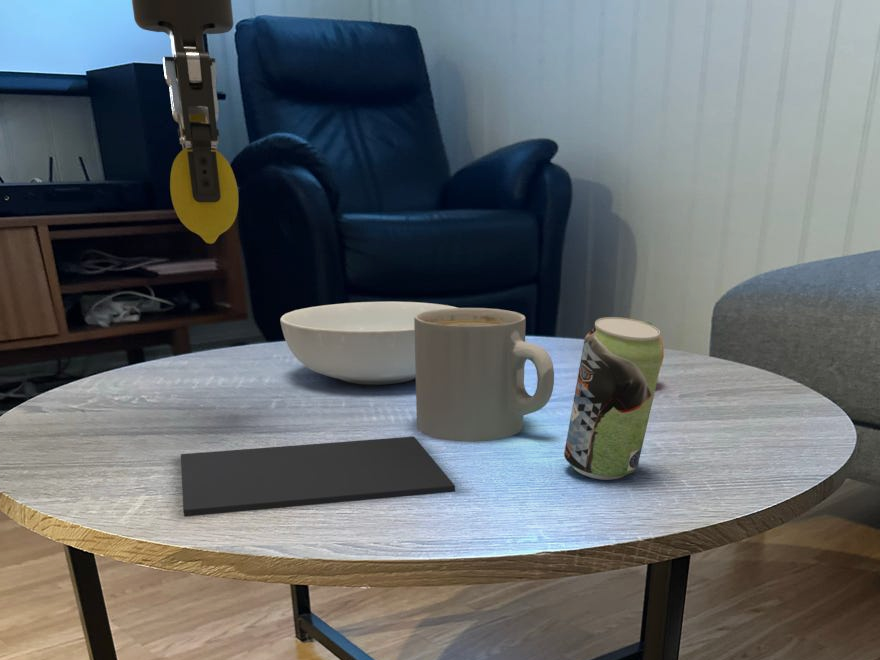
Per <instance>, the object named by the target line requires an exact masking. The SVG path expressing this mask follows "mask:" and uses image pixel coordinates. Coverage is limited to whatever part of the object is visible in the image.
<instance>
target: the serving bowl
mask: <svg viewBox="0 0 880 660" xmlns="http://www.w3.org/2000/svg"><path fill="white" fill-rule="evenodd" d="M449 308H458V307H456V306H452V305H448V304H441V303H440V304H439V303H431V302H430V303H429V302H417V301H361V302H359V301H358V302H344V303H334V304H324V305H317V306H310V307H306V308H305V307H304V308H300V309H295V310H292V311H289V312H286V313H284V314H283V315H281V317H280V320H279V321H280V326H281V330H282V334H283V337H284V340H285V343H286V345H287V347H288V349H289V350H290V352H291V353H292V355H293V356H294V357H295V358H296V359H297V360H298V361H299V362H300V363H301V364H302V365H303V366H305V367H306V368H307V369H309V370H311V371H313V372H316V373H317V374H320V375H322V376H326V377H329V378H334V379H338V380H340V381H343V382H345V383H346V382H347V383H351V384H356V385H367V386H368V385H373V386H374V385H378V386H379V385H381V386H382V385H394V384H401V383H406V382H409V381H413V380H414V379H415V380H416V370H415V330H414V317H415V316H416V315H417V314H419V313H421V312H425V311H430V310H438V309H449Z"/></svg>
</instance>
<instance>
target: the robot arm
mask: <svg viewBox="0 0 880 660" xmlns="http://www.w3.org/2000/svg"><path fill="white" fill-rule="evenodd" d="M131 4H132V5H131V6H132V14H133V19H134V20H133V21H134V23H135V24H136V26H137V27H139V28H140V29H142V30H144V31H148V32H155V33H165V34H166V35H167V36H168V37H169V39H170V44H171V45H170V47H171V53H172V56H163V58H162V63H163V72H164V79H165V82H166V85H167V86H168V87H169V97H170V104H171V111H172V117H173V120H174V121H175V122H176V123H178V128H177V134H178V137H179V144H180V145H181V146H182V150H183V149H185V148H186V150H192V151H187V154H188V163H189V171H190V179H191V187H192V195H193V198H194V200H195V201H197V202H218V201H219V200H220V197H221V195H220V186H219V177H218V167H217V158H216V152H211V150H217V151H218V146H219V138H218V137H219V136H220V131H219V128H217V126H218V125H217V122H218V120H219V114H220V108H219V101H218V92H217V83H218V69H217V68H218V67H217V61H216V58H215V57H214V58H213V57H210V52H208V51H206V49H205V42H204V35H219V34H226V33H229V32H230V31H231V30H232V29H233V27H234V16H233V6H232V0H131Z"/></svg>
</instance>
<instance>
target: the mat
mask: <svg viewBox="0 0 880 660" xmlns="http://www.w3.org/2000/svg"><path fill="white" fill-rule="evenodd" d="M180 465H181V466H180V468H181V487H182V488H181V489H182V509H183V510H182V511H183V516H184V517H195V516H205V515H207V516H208V515H215V514H228V513H238V512H247V511H260V510H268V509H281V508H291V507H293V508H294V507H305V506H315V505H325V504H336V503H347V502H358V501H367V500H379V499H391V498H400V497H411V496H421V495H423V496H424V495H434V494H444V493H454V492H456V485H455V484H454V483H453V482H452V480H451V479H450V477H448V476H447V474H446V473H445V471H443V469H442V468H441V467H440V466H439V465H438V463H437V462H436V461H435V460H434V459H433V457H432V456H431V455H430V454H429V452H428V451H427V450H426V449H425V447H424V446H422V444H421V443H420V442H419V440H418V439H417V438H416V437H415V436H402V437H389V438H387V437H386V438H374V439H363V440H362V439H361V440H350V441H336V442H323V443H310V444H297V445H296V444H295V445H283V446H271V447H268V446H267V447H258V448H257V447H256V448H243V449H231V450H230V449H229V450H216V451H205V452H204V451H203V452H189V453H180Z"/></svg>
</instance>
